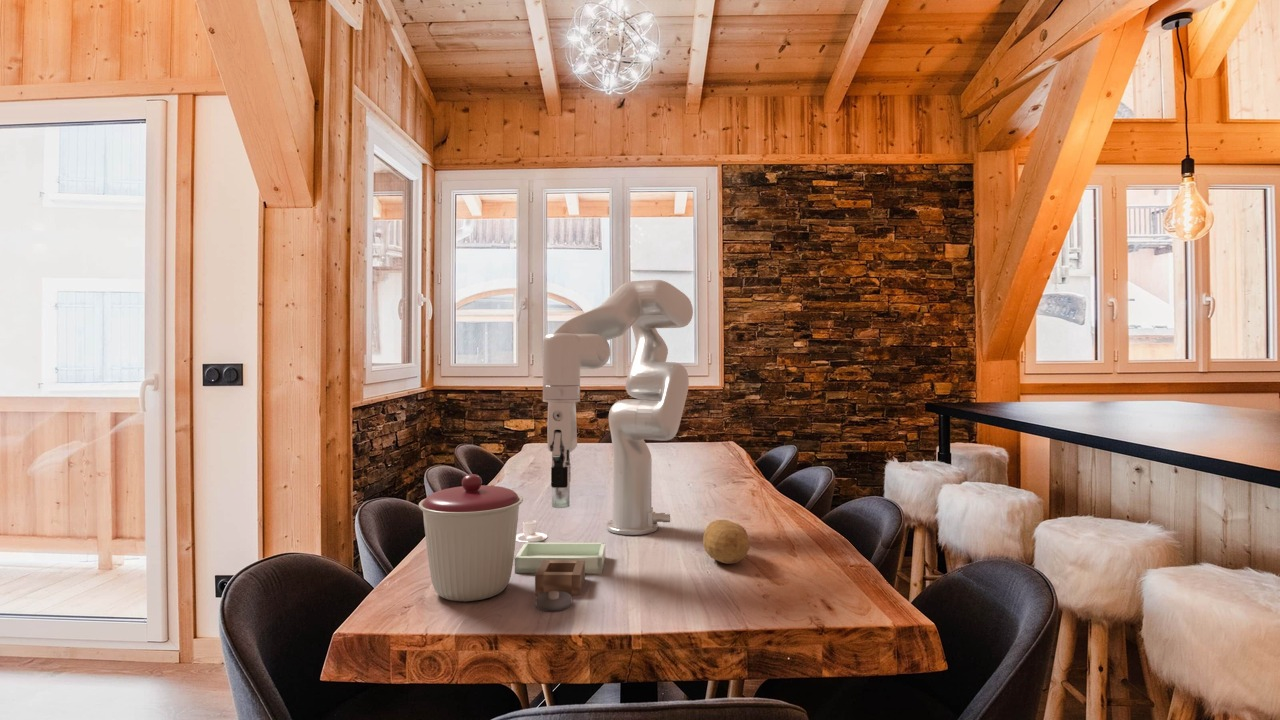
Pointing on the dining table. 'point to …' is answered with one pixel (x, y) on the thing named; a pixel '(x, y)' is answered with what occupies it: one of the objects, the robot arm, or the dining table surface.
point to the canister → (471, 539)
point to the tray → (560, 555)
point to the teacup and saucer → (531, 532)
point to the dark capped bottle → (562, 493)
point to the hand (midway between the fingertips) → (560, 484)
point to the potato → (726, 541)
